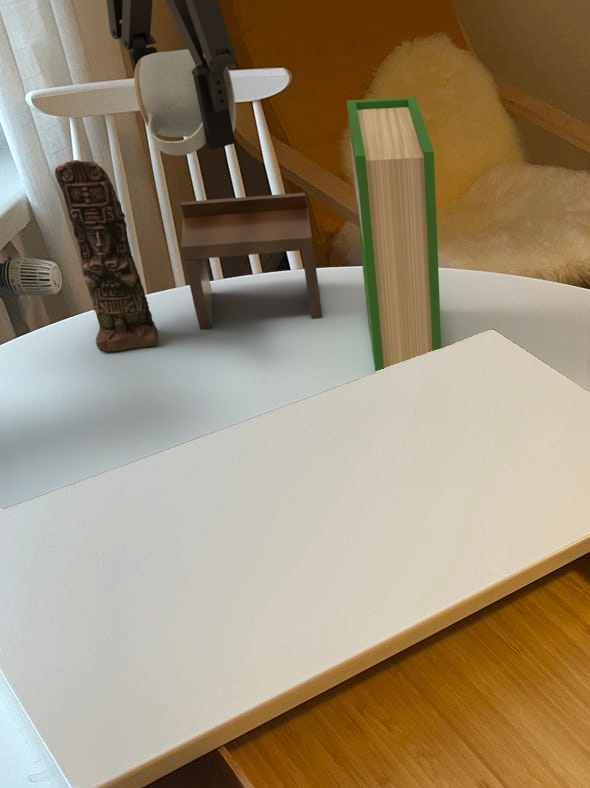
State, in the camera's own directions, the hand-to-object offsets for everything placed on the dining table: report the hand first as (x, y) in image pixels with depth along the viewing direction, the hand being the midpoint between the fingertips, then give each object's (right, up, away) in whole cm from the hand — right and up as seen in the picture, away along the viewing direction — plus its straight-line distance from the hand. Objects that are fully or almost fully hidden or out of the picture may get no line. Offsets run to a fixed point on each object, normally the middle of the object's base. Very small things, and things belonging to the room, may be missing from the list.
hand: (189, 133), depth 95 cm
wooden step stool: (+2, -9, +24) cm, 26 cm away
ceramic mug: (+1, -1, 0) cm, 1 cm away
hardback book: (+20, -16, +17) cm, 31 cm away
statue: (-13, -15, +19) cm, 27 cm away
